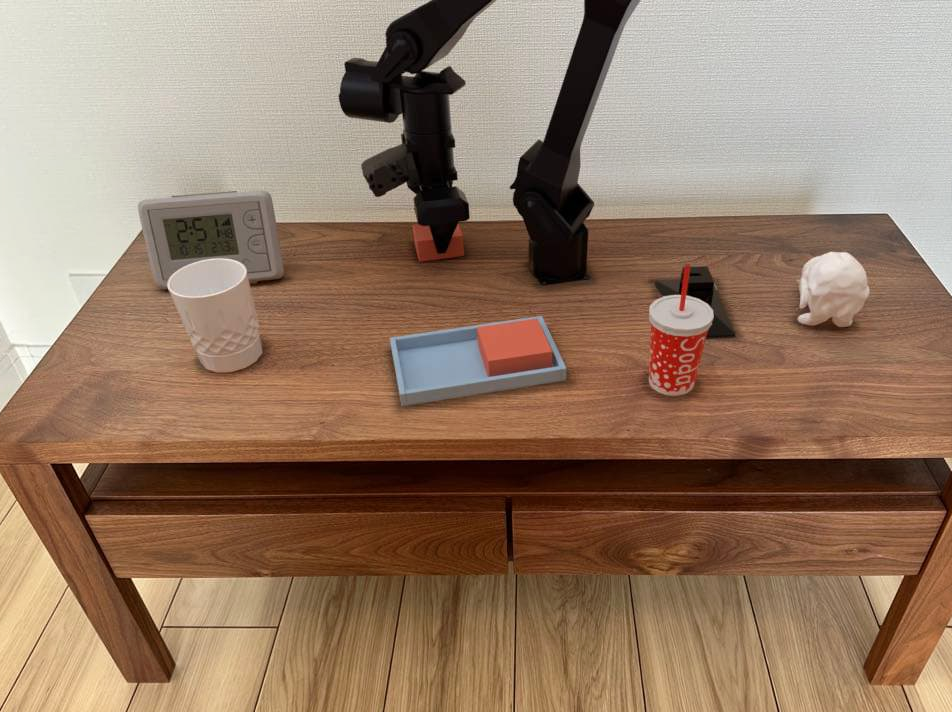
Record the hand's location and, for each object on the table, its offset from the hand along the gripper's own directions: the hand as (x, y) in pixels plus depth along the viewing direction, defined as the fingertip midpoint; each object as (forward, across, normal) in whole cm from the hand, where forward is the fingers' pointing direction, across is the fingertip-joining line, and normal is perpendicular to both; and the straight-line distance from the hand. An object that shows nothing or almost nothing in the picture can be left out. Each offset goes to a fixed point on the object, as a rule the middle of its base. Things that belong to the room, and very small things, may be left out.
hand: (438, 243), depth 101 cm
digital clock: (+1, 0, -28) cm, 28 cm away
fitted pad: (0, +27, +4) cm, 27 cm away
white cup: (+1, +18, -26) cm, 32 cm away
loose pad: (+1, 0, 0) cm, 1 cm away
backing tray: (+1, +27, 0) cm, 27 cm away
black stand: (+1, +22, +27) cm, 35 cm away
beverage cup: (+1, +35, +19) cm, 40 cm away
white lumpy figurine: (+1, +26, +41) cm, 49 cm away
